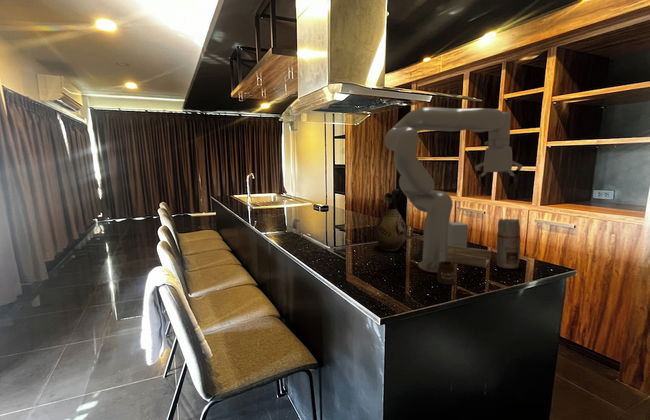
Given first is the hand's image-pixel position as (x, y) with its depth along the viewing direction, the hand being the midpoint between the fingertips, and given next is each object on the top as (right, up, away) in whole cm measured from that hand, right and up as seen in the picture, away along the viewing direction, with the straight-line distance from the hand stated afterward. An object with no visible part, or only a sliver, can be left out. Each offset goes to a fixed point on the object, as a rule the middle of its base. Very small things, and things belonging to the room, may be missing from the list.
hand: (496, 185), depth 131 cm
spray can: (+3, -33, -1) cm, 34 cm away
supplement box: (-6, -29, +27) cm, 40 cm away
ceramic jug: (-38, -30, +28) cm, 56 cm away
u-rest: (-11, -32, +9) cm, 35 cm away
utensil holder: (-28, -36, -17) cm, 49 cm away
